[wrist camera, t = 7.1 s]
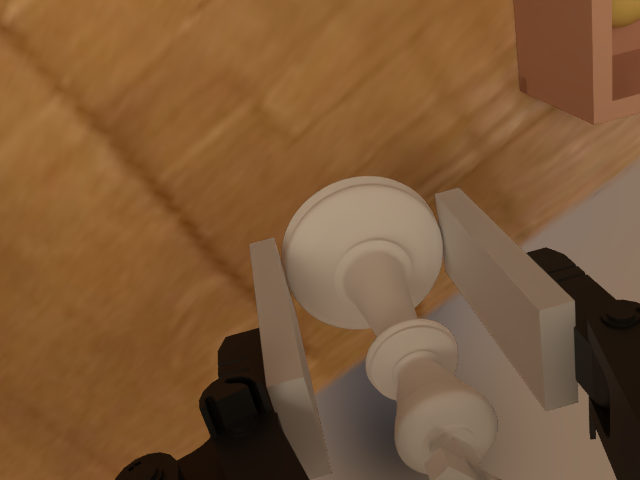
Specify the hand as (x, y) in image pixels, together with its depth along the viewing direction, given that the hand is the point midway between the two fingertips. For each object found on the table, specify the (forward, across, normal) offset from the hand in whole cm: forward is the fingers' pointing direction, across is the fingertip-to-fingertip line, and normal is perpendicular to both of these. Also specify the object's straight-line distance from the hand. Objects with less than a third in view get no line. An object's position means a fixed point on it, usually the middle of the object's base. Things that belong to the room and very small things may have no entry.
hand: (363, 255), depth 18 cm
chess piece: (+1, 0, 0) cm, 1 cm away
